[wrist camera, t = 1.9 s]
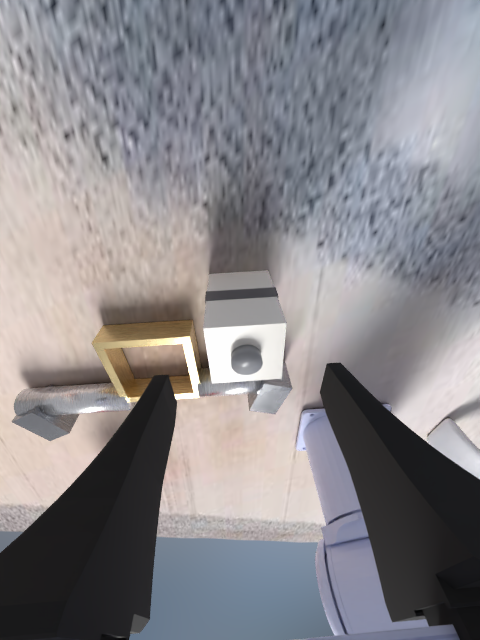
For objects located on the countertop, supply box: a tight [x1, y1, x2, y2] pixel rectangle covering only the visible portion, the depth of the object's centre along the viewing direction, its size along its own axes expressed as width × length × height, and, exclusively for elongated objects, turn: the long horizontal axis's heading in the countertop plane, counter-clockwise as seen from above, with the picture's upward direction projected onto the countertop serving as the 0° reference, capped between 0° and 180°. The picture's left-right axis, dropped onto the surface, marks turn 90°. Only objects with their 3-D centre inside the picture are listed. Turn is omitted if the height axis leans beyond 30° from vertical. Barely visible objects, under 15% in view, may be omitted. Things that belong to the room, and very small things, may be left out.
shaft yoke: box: [12, 320, 292, 441], centre depth 21 cm, size 23×10×3 cm, turn 92°
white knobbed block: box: [203, 270, 287, 384], centre depth 15 cm, size 4×4×7 cm
